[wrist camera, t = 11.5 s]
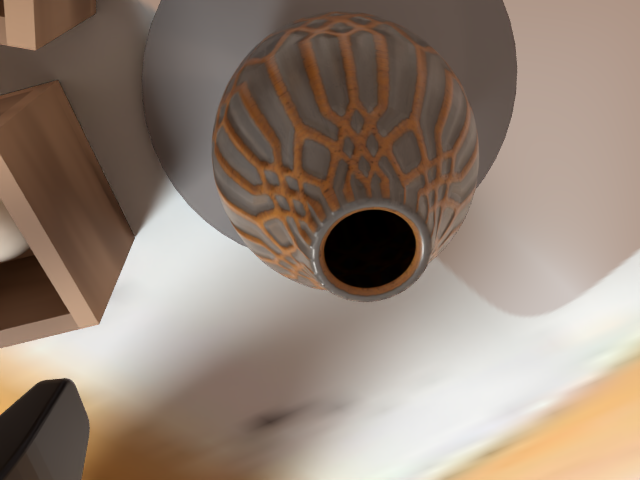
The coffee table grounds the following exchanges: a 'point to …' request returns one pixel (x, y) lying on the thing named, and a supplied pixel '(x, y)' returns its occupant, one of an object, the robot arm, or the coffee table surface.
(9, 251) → the ball
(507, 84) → the coaster
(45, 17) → the box
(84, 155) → the box
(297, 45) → the vase
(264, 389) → the coffee table surface
